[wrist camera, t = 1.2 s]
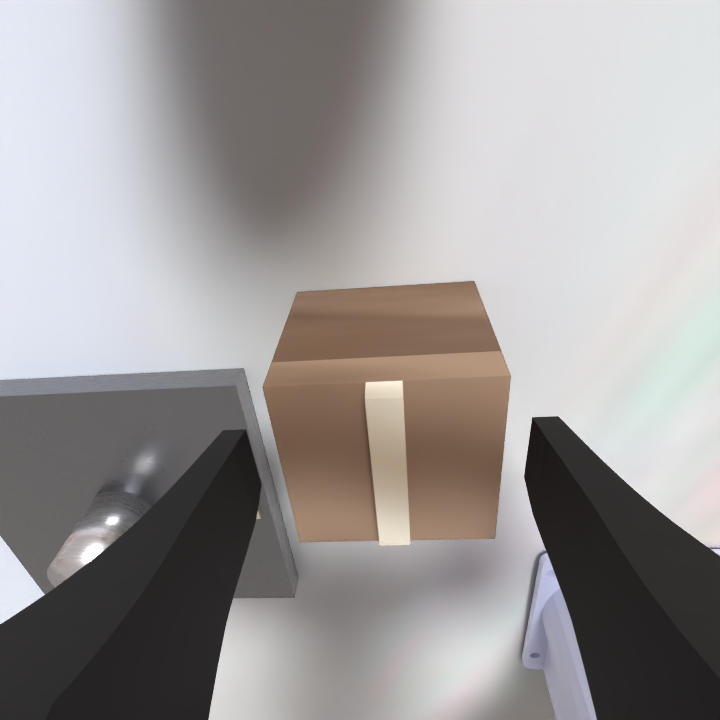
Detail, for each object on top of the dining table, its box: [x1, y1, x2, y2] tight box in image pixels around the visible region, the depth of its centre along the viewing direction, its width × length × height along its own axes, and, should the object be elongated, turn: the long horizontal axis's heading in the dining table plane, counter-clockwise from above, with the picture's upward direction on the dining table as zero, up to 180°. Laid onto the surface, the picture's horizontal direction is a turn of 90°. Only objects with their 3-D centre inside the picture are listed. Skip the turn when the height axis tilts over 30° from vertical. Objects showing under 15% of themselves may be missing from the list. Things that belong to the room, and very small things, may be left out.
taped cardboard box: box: [263, 281, 511, 546], centre depth 14 cm, size 5×5×6 cm
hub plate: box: [0, 368, 298, 598], centre depth 19 cm, size 12×12×4 cm
